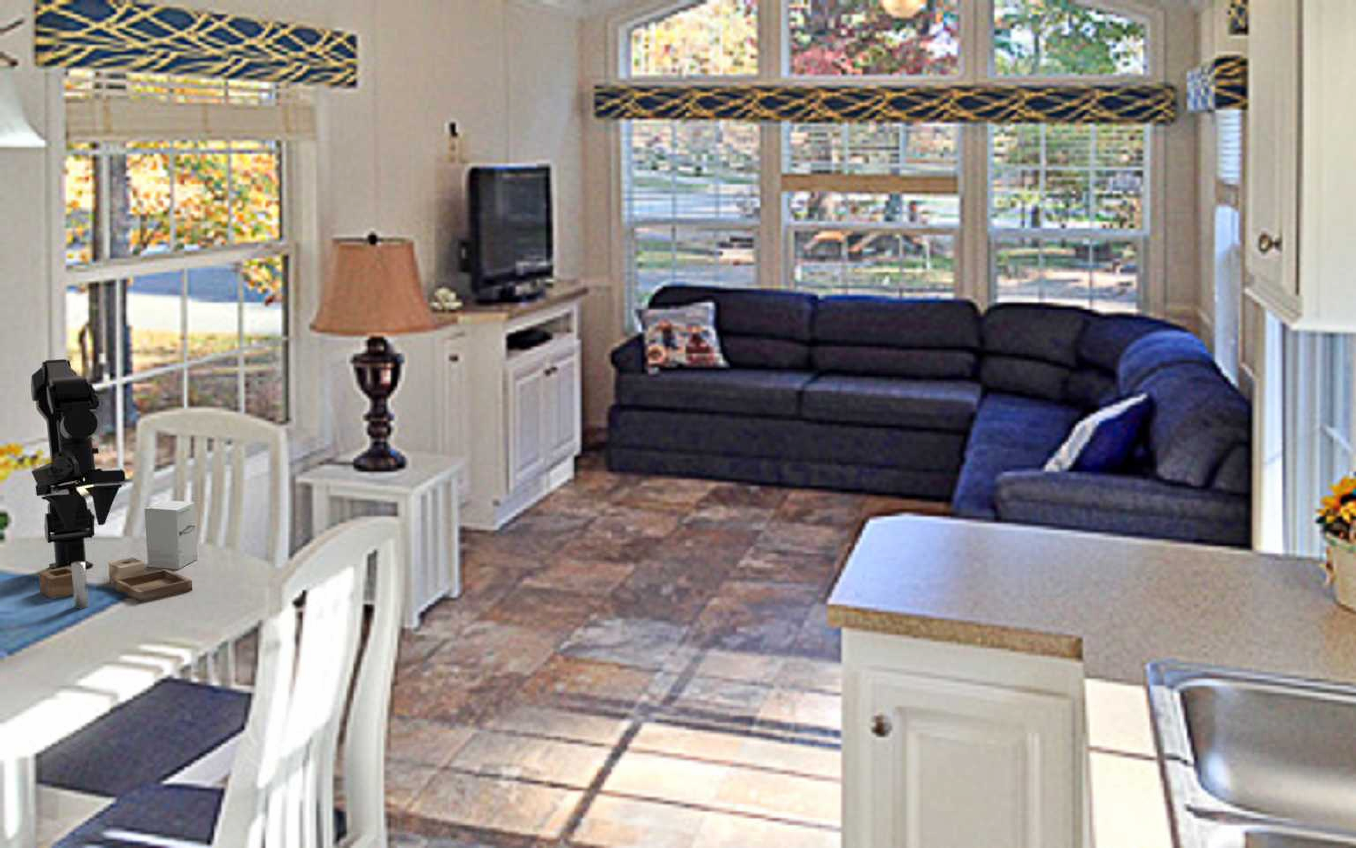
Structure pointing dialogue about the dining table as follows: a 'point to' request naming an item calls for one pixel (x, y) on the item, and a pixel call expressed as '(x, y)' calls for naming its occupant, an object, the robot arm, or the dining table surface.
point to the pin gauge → (79, 584)
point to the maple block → (125, 568)
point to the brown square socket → (56, 582)
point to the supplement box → (171, 534)
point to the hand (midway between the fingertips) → (85, 527)
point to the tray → (153, 585)
